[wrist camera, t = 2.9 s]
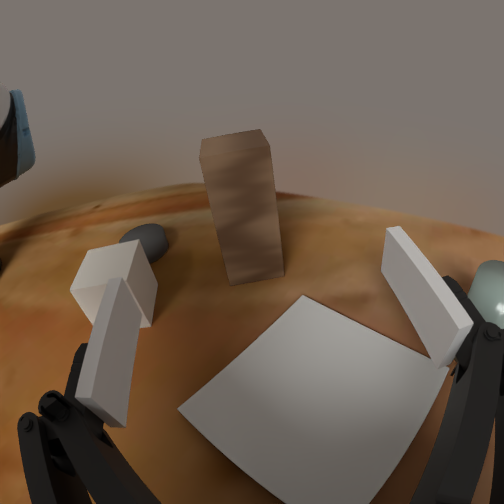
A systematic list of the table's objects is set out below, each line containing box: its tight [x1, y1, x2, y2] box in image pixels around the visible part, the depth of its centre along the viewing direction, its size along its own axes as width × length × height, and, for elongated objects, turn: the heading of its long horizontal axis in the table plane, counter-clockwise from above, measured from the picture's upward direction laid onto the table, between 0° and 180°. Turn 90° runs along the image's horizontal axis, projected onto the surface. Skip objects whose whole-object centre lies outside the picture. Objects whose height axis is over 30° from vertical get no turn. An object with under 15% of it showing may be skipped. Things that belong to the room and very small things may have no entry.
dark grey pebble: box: [119, 224, 168, 264], centre depth 31 cm, size 5×5×2 cm
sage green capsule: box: [454, 260, 504, 363], centre depth 15 cm, size 4×4×6 cm
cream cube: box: [70, 239, 158, 328], centre depth 23 cm, size 5×5×5 cm
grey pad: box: [177, 295, 449, 504], centre depth 16 cm, size 12×12×1 cm
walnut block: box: [199, 129, 284, 286], centre depth 24 cm, size 4×4×11 cm
